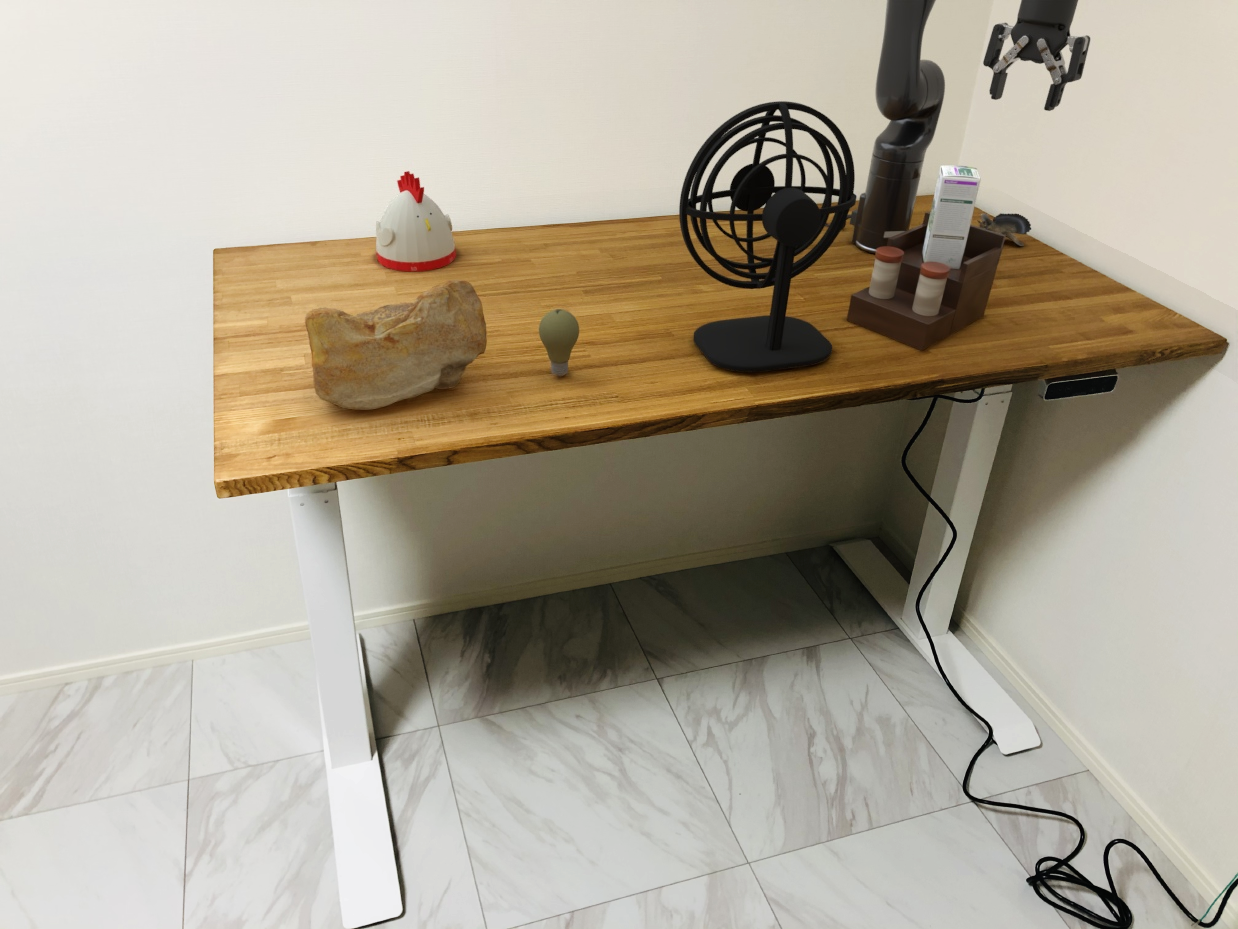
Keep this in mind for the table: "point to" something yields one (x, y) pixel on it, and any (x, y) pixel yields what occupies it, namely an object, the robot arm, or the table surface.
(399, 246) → the kitchen timer
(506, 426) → the table surface
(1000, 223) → the squirrel figurine
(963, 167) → the syrup box
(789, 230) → the desk fan
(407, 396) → the rough brown rock
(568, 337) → the light bulb
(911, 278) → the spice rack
